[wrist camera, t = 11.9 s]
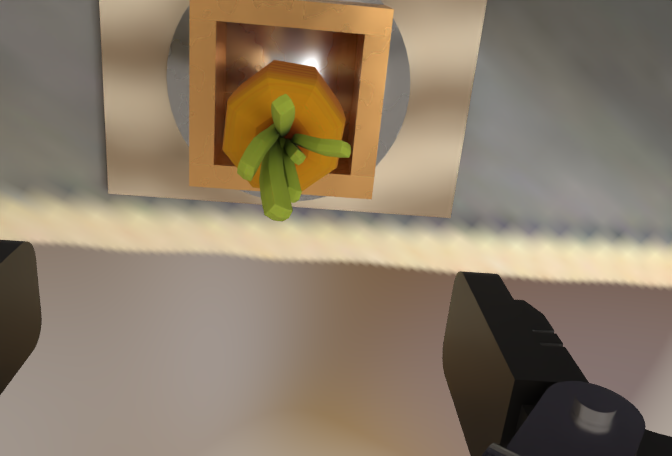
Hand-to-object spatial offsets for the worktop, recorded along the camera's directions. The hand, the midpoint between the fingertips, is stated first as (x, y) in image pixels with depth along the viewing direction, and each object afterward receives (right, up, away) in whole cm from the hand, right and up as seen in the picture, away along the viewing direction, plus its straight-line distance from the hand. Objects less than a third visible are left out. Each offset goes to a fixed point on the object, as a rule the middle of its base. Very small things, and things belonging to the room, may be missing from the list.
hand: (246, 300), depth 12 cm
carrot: (-1, +9, +22) cm, 24 cm away
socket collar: (-1, +9, +22) cm, 24 cm away
